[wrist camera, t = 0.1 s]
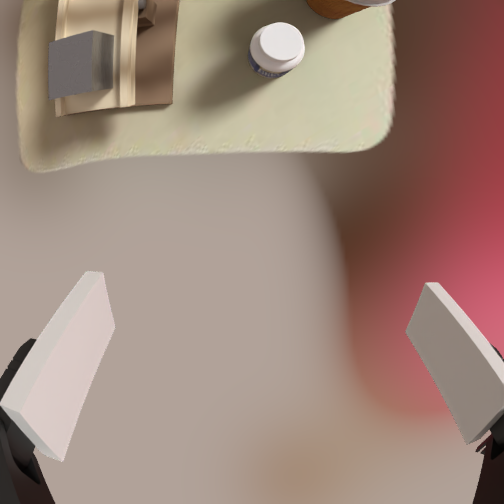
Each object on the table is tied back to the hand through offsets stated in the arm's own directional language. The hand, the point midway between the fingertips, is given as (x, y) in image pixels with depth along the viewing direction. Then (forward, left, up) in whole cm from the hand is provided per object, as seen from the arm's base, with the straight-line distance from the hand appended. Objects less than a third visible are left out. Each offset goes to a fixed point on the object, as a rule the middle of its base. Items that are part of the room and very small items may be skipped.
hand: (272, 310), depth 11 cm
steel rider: (-13, -17, -21) cm, 30 cm away
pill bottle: (-14, +2, -28) cm, 32 cm away
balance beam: (-20, -17, -22) cm, 34 cm away
